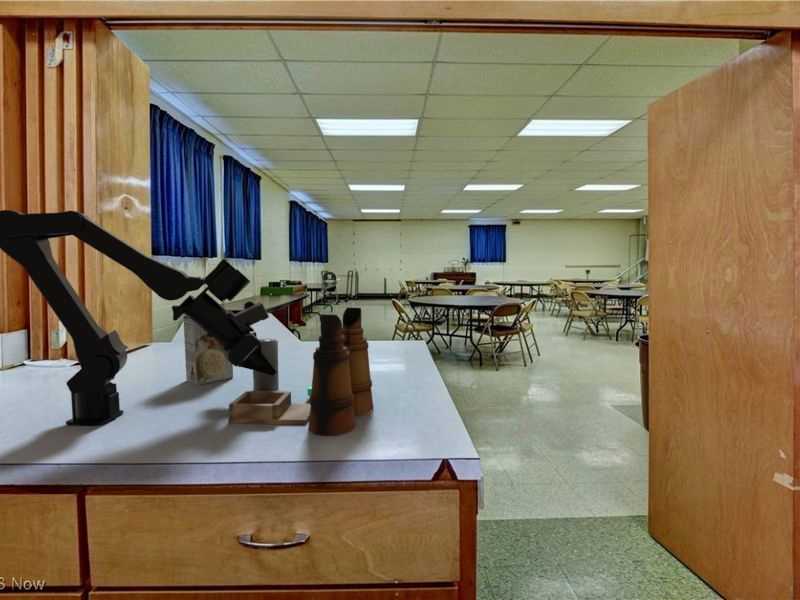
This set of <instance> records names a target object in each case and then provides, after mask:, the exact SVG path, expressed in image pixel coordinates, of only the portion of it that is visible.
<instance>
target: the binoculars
mask: <svg viewBox="0 0 800 600" xmlns="http://www.w3.org/2000/svg"><path fill="white" fill-rule="evenodd" d="M368 348H369V342H368V341H367V338H366V337H364V328H363V327H362V308H361V307H346V308H345V310H344V312H343V314H342V320H341V318H340V317H339V316H338V315H337V314H324V313H323V314H322V313H321V314H320V335H319V336H318V346H317V347H316V348H315V351H314V352H313V353H312V358H313V370H312V382H311V385H312V391H311V395H310V396H309V404H310V405H311V407H310V416H309V420H308V426H307V428H308V429H307V430H308V432H309V433H311V434H313V435H315V436H321V437H335V436H341V435H345V434H348V433H351V432H352V431H354V429H355V428H356V421H355V417H356V416H357V417H358V416H363V415H362V414H364V415H367V414H369V413H368V412H370V411H371V410H374V409H373V408H374V401H373V392H372V387H373V381H372V378H371V371H370V360H369V359H370V358H369V350H368ZM371 412H372V411H371ZM371 412H370V413H371ZM366 413H367V414H366Z"/></svg>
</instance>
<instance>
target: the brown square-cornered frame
mask: <svg viewBox="0 0 800 600" xmlns="http://www.w3.org/2000/svg"><path fill="white" fill-rule="evenodd" d="M310 407H311V405H310V403H292V391H287V390H279V391H253V390H251V391H249V390H246V391H245V392H243V393H242V394H241V395H239V396H238V397H237V398H235V399H234V400H233V401H231V402H230V403H229V404H228V417H229V418H227V419H228V420H227V423H228V424H253V425H255V424H260V425H261V424H263V425H268V424H269V425H270V424H271V425H307V423H309V416H310Z"/></svg>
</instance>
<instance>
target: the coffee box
mask: <svg viewBox="0 0 800 600" xmlns="http://www.w3.org/2000/svg"><path fill="white" fill-rule="evenodd" d="M183 335H184V336H183V337H184V354H185V355H184V357H185V373H186V374H185V376H186V377H185V381H187V382H188V383H191V384H194V385H196V386H200V385H204V384H209V383H214V382H219V381H223V380H224V381H225V380H228V379H233V378H234V369H233V368H234V367H233V366H234V365H233V364H232V363H231V362H229V361H228V351H225V350H224V349H223V346H222V345H221V344H219V343H218V342H217V341H216V340H215V339H213V338H212V337H211V338H210V337H209V336H207V335H206V332H205V331H204V330H203V329H201V328H200V327H199V326H198V325H196V324H195V323H194V322H193V321H192V320H190V319H189V318H188V317H187V316H186V315H183Z"/></svg>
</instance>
